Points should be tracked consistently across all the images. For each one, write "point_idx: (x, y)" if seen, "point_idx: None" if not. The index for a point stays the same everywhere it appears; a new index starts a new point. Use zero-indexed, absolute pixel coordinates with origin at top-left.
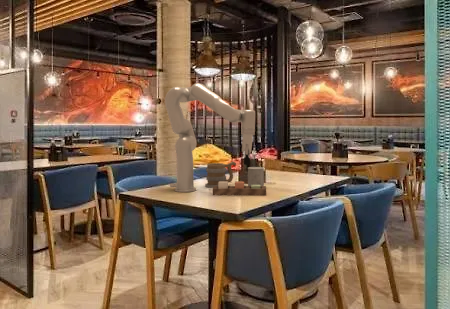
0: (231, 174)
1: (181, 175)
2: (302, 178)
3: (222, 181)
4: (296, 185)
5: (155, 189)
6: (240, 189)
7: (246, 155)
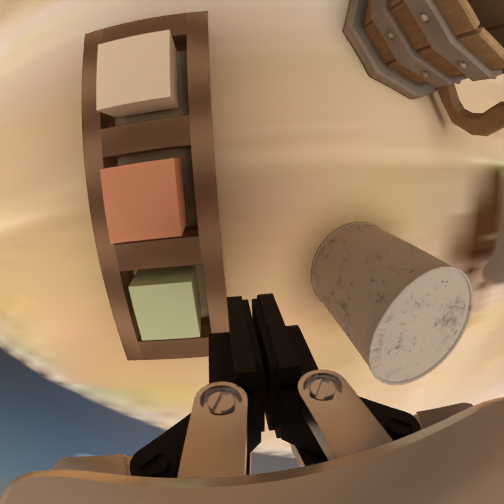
0: (483, 124)
1: None
2: (492, 378)
3: (163, 54)
4: (396, 405)
5: None
6: (92, 213)
7: (176, 452)
